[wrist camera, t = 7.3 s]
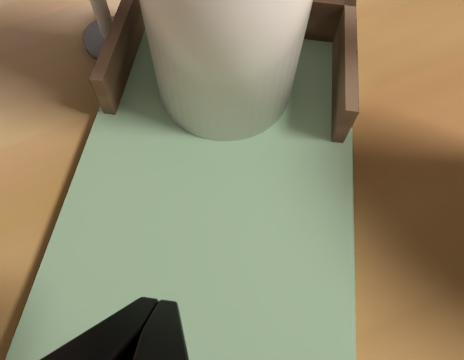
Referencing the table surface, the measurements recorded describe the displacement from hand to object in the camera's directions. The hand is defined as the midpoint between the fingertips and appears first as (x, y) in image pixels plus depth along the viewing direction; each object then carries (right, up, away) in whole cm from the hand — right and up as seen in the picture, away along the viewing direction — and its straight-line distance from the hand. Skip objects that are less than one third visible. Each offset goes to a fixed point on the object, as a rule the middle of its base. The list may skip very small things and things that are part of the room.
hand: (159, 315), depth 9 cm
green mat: (+1, +3, +10) cm, 10 cm away
